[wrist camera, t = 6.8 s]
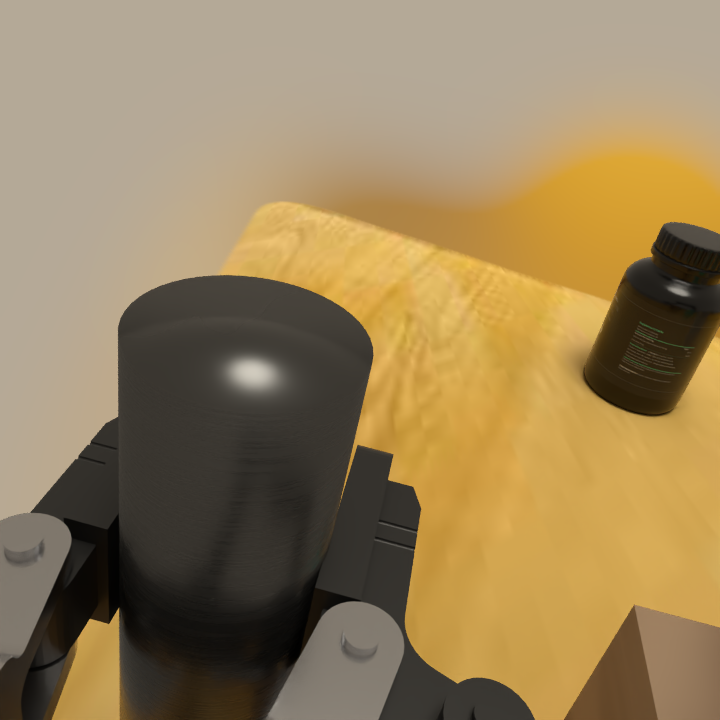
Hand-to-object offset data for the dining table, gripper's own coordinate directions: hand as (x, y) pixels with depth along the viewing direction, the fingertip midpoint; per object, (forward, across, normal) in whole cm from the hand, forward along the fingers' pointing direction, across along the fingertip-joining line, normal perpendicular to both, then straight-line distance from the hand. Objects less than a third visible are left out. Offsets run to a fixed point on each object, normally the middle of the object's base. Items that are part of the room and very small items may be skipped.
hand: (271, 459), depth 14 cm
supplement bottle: (+35, -19, +16) cm, 42 cm away
